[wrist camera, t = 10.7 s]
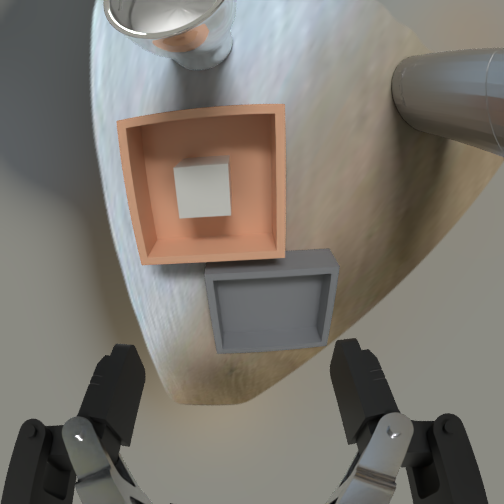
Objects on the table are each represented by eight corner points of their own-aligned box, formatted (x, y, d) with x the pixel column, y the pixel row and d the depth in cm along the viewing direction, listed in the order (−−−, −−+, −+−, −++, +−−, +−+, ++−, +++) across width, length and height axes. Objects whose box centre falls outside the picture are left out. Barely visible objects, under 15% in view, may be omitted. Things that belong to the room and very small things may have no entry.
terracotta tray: (276, 104, 25) (284, 104, 21) (278, 235, 32) (285, 257, 27) (135, 117, 25) (116, 120, 20) (154, 242, 31) (141, 265, 27)
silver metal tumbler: (219, 84, 24) (198, 57, 11) (154, 63, 22) (78, 32, 9) (249, 25, 21) (260, -47, 8) (183, 6, 19) (138, -66, 6)
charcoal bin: (329, 248, 33) (339, 266, 29) (319, 325, 38) (326, 345, 35) (207, 255, 32) (204, 274, 29) (218, 332, 38) (217, 353, 35)
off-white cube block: (229, 155, 26) (228, 163, 22) (232, 199, 28) (231, 215, 24) (183, 158, 26) (173, 168, 22) (187, 202, 28) (179, 218, 24)
